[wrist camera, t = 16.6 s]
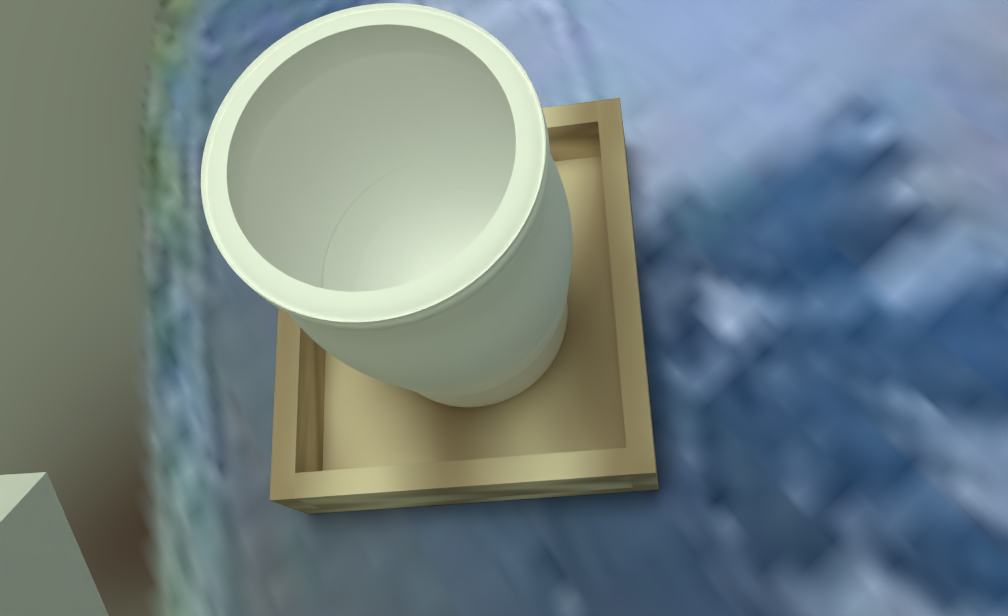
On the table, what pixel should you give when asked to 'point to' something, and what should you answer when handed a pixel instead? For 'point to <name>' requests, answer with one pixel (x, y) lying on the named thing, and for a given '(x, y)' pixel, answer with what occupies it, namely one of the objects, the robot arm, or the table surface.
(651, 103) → the table surface
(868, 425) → the table surface
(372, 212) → the jar
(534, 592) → the table surface
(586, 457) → the holder
